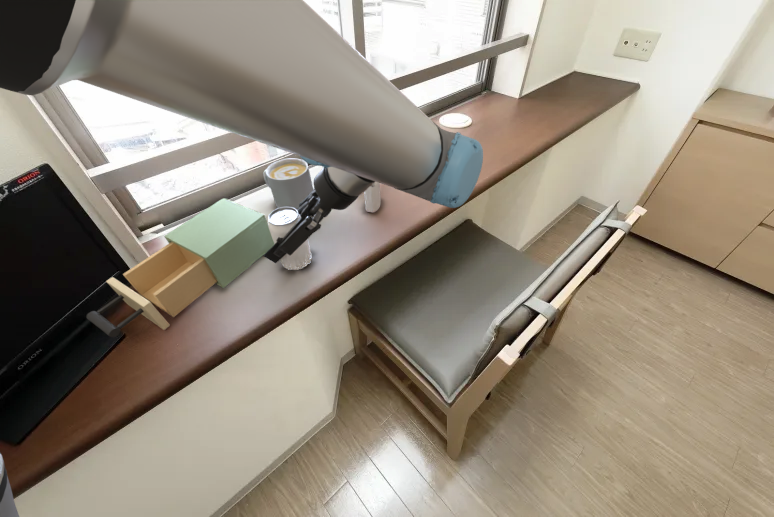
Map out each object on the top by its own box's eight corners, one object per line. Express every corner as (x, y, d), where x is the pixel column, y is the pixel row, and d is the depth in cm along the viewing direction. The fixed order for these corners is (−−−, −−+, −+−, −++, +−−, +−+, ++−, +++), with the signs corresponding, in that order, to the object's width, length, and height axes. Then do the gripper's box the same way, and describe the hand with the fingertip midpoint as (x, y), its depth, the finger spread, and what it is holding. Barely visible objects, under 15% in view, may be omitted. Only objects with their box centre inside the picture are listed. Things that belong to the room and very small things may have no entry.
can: (301, 245, 76) (288, 201, 67) (318, 259, 72) (307, 215, 64) (275, 260, 72) (259, 216, 64) (292, 276, 69) (277, 231, 61)
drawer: (132, 356, 56) (107, 333, 52) (96, 327, 61) (70, 304, 56) (225, 280, 68) (211, 256, 63) (189, 260, 72) (173, 236, 67)
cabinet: (223, 288, 67) (205, 258, 61) (183, 266, 72) (163, 236, 66) (275, 244, 76) (264, 214, 70) (237, 227, 81) (223, 197, 75)
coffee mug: (323, 201, 88) (316, 166, 80) (293, 220, 82) (283, 184, 75) (291, 183, 94) (281, 150, 87) (261, 200, 89) (248, 166, 82)
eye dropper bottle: (359, 207, 85) (354, 164, 76) (375, 198, 88) (372, 155, 79) (371, 215, 83) (367, 171, 74) (387, 205, 85) (385, 161, 77)
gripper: (351, 229, 52) (276, 291, 65) (368, 165, 65) (304, 227, 78) (310, 199, 48) (240, 271, 61) (338, 138, 62) (276, 207, 75)
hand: (276, 246), depth 70 cm, fingers closed on can, 6 cm apart
